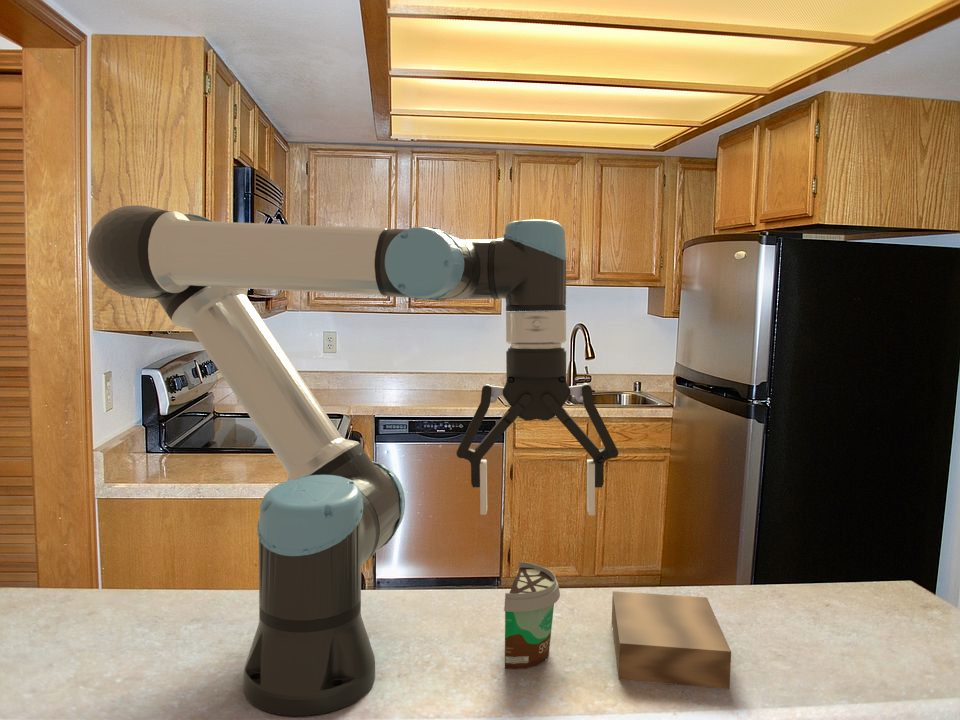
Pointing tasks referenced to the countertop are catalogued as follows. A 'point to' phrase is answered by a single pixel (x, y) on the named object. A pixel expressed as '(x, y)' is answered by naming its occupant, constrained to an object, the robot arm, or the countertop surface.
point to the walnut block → (669, 640)
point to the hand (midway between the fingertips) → (537, 512)
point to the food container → (529, 616)
